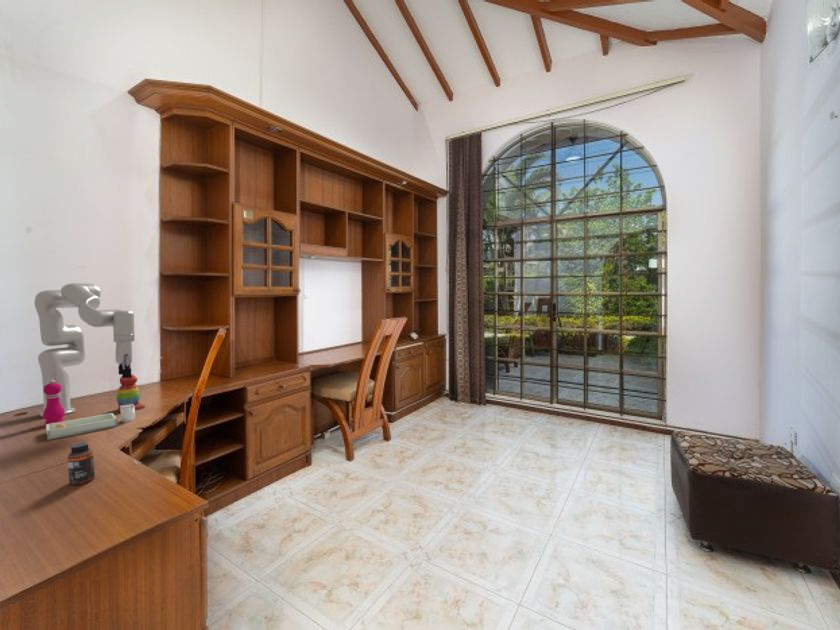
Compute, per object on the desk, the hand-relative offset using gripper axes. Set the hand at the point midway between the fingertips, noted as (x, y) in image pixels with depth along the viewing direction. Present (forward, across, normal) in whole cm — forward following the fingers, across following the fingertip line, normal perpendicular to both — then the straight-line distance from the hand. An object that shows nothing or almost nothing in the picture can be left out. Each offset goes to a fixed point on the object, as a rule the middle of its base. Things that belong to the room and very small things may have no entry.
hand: (124, 375), depth 180 cm
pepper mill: (+22, -17, -23) cm, 36 cm away
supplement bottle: (+19, +65, -20) cm, 71 cm away
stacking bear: (+21, -22, +5) cm, 31 cm away
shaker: (+20, +1, +1) cm, 20 cm away
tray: (+20, +2, -15) cm, 26 cm away
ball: (+18, +1, -22) cm, 29 cm away
